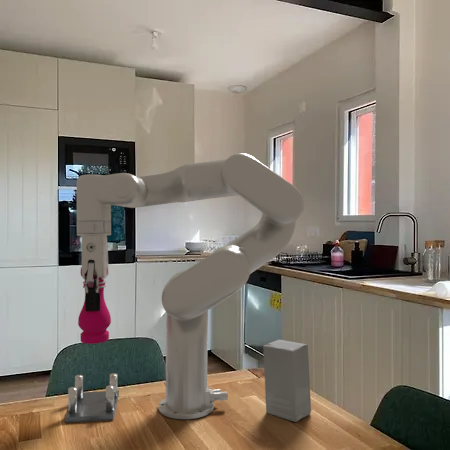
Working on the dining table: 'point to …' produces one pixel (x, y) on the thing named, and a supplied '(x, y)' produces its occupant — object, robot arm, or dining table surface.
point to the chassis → (92, 402)
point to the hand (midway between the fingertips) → (94, 307)
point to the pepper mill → (95, 319)
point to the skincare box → (287, 379)
